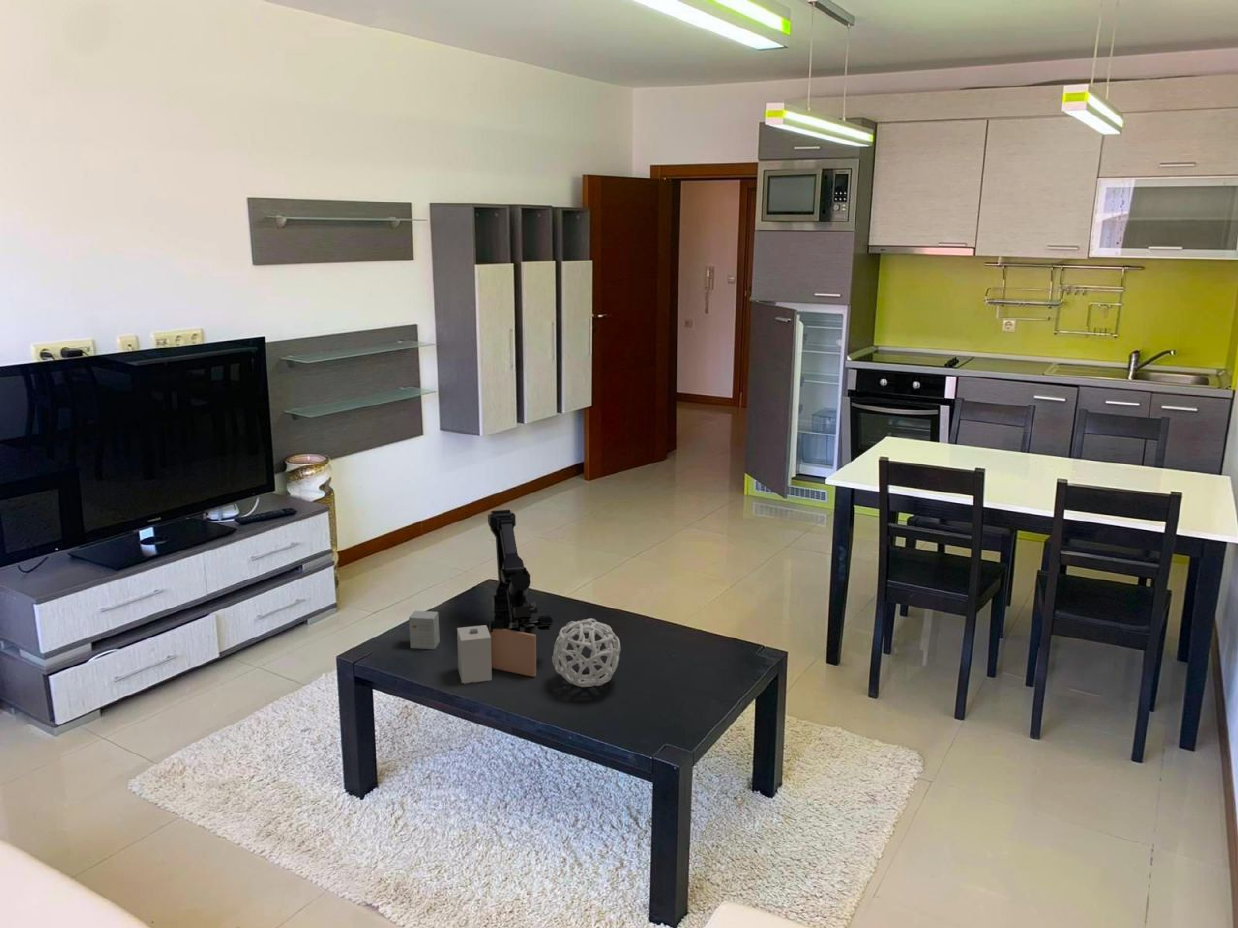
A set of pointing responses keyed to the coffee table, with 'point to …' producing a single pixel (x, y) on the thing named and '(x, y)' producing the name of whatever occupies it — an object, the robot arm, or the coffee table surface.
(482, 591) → the coffee table surface
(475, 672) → the beige rectangular box
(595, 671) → the decorative ball
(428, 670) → the coffee table surface
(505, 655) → the side door
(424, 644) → the small box
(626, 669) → the coffee table surface
